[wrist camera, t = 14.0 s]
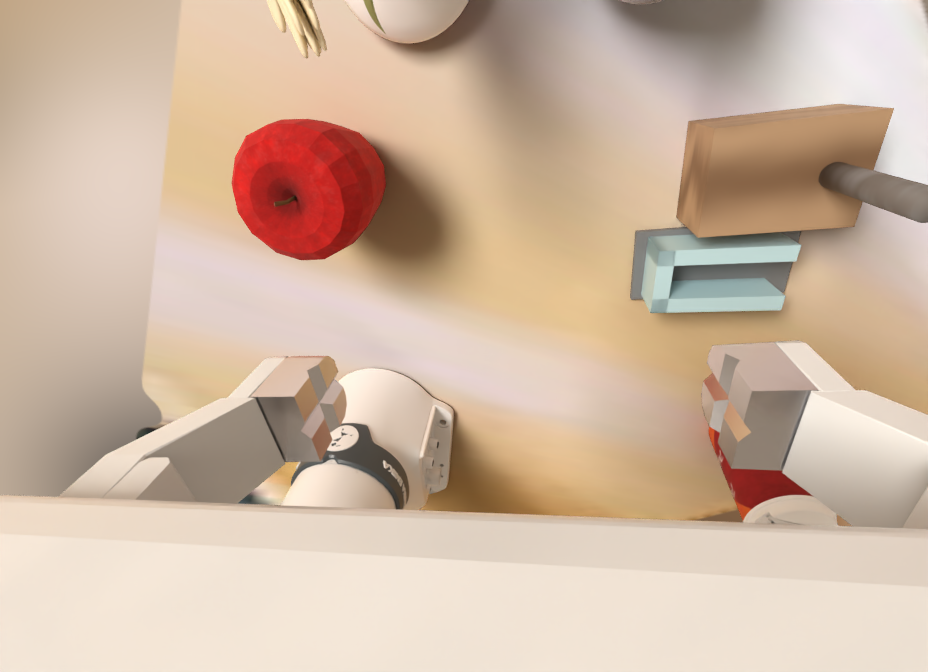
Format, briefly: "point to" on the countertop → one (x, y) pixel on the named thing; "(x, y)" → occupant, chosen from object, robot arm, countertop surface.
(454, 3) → the flower in vase
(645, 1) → the pump dispenser
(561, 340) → the countertop surface
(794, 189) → the stand
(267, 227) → the apple
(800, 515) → the paper cup
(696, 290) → the c link
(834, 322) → the countertop surface
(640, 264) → the mat
